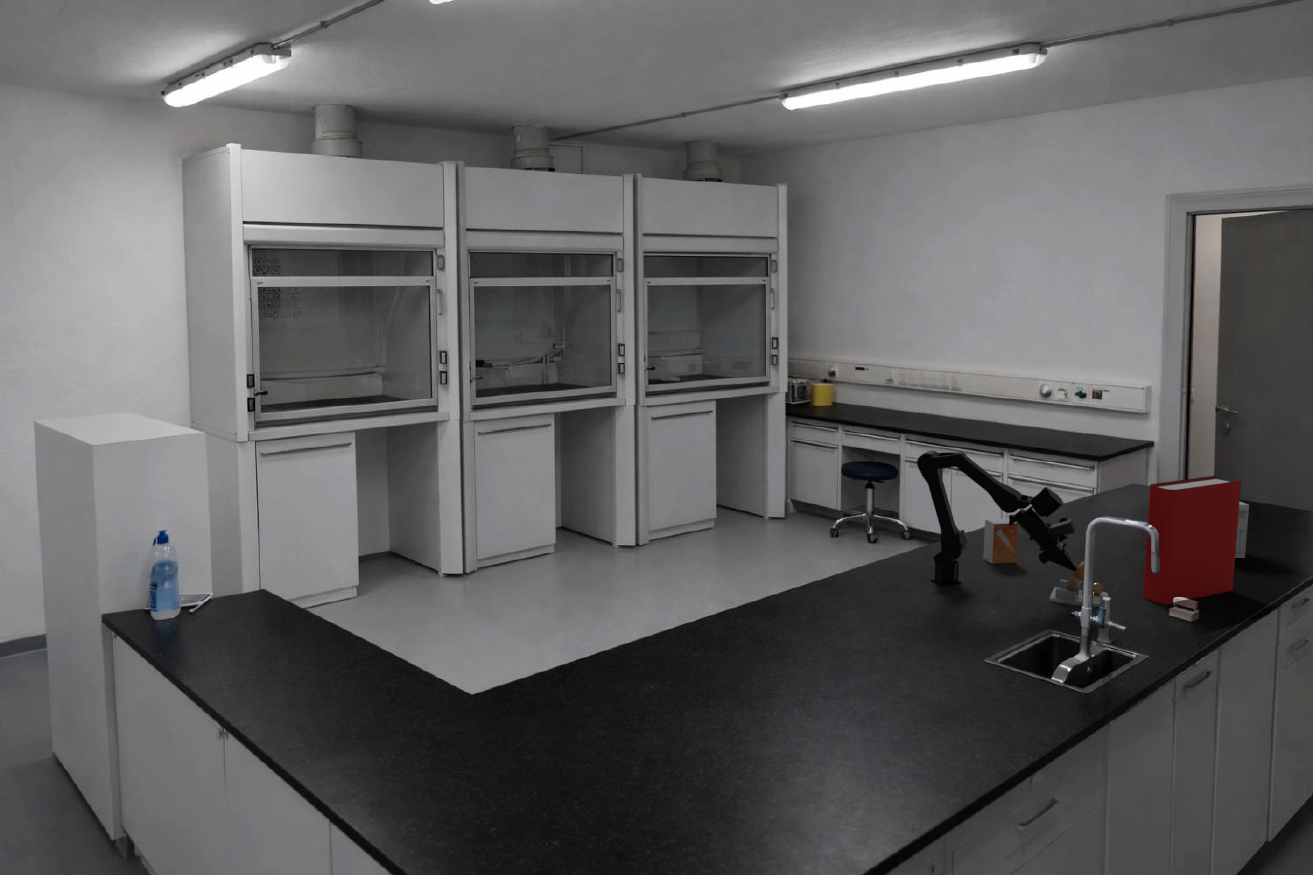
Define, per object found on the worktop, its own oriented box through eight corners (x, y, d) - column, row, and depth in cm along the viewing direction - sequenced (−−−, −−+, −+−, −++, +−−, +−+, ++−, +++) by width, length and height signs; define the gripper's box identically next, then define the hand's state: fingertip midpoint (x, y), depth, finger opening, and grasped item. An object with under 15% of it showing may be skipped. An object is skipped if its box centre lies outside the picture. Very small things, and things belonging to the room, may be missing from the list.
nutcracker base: (1049, 601, 278) (1050, 582, 278) (1054, 590, 288) (1055, 572, 287) (1104, 608, 272) (1105, 589, 271) (1107, 597, 281) (1109, 578, 280)
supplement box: (1246, 559, 316) (1250, 504, 313) (1203, 559, 317) (1207, 505, 314) (1223, 547, 329) (1227, 495, 327) (1182, 548, 330) (1186, 495, 327)
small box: (992, 564, 314) (993, 523, 312) (982, 558, 321) (984, 519, 319) (1016, 563, 316) (1018, 522, 313) (1006, 557, 322) (1008, 517, 320)
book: (1206, 583, 292) (1215, 475, 287) (1232, 590, 285) (1241, 480, 280) (1139, 596, 281) (1146, 484, 276) (1164, 604, 274) (1172, 490, 269)
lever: (1059, 591, 279) (1080, 564, 275) (1062, 585, 285) (1083, 558, 281) (1069, 599, 278) (1091, 572, 274) (1072, 592, 283) (1094, 566, 280)
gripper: (1053, 516, 271) (1095, 561, 267) (1062, 502, 287) (1102, 544, 284) (1021, 541, 276) (1062, 585, 272) (1032, 526, 292) (1070, 567, 289)
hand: (1075, 569), depth 279 cm, fingers closed, pressing on lever
